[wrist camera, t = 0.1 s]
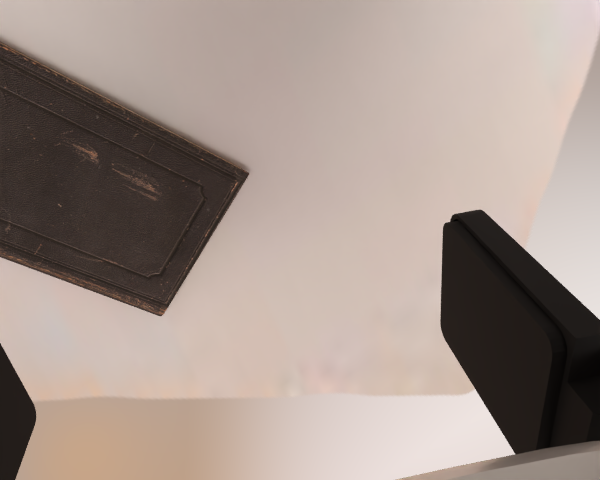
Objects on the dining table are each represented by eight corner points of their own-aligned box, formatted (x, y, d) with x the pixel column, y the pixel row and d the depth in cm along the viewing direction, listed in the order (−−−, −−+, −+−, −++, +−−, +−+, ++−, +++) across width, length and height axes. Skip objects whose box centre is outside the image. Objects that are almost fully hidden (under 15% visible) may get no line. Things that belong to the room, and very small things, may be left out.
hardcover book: (-58, 3, 34) (-74, 6, 32) (247, 164, 43) (249, 174, 41) (-120, 198, 39) (-137, 211, 37) (162, 305, 48) (160, 320, 46)
